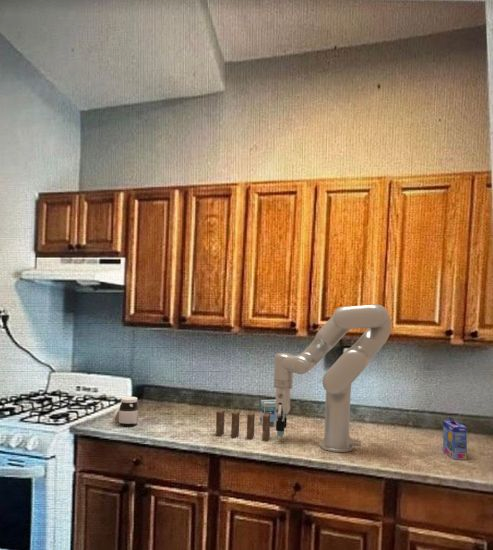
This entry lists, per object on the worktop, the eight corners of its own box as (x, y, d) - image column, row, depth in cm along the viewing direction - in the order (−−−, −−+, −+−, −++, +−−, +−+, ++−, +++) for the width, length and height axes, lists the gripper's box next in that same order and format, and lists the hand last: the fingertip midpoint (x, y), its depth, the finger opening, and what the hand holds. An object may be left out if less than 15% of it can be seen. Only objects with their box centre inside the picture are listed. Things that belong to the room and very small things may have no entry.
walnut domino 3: (254, 436, 214) (254, 412, 214) (251, 439, 209) (252, 414, 209) (249, 436, 214) (250, 411, 215) (246, 439, 209) (247, 414, 210)
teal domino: (284, 433, 211) (285, 408, 211) (282, 436, 206) (283, 411, 207) (279, 432, 212) (280, 408, 212) (277, 436, 207) (278, 410, 207)
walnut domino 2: (238, 435, 215) (239, 410, 216) (235, 438, 211) (236, 413, 211) (234, 434, 216) (234, 410, 216) (231, 437, 211) (231, 413, 211)
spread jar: (134, 428, 221) (135, 400, 221) (108, 427, 221) (109, 399, 221) (140, 421, 233) (141, 395, 233) (115, 420, 233) (116, 394, 233)
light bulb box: (263, 427, 229) (264, 402, 230) (259, 423, 236) (260, 399, 236) (286, 426, 232) (287, 402, 232) (281, 422, 239) (282, 399, 239)
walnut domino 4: (269, 438, 212) (270, 413, 213) (267, 441, 208) (267, 416, 208) (264, 437, 213) (265, 413, 213) (262, 440, 208) (263, 415, 208)
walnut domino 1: (223, 433, 217) (224, 409, 217) (220, 436, 212) (221, 412, 212) (219, 433, 217) (220, 409, 218) (215, 436, 212) (216, 411, 213)
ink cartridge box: (441, 451, 201) (442, 414, 202) (455, 451, 202) (456, 414, 202) (452, 459, 192) (453, 420, 192) (467, 460, 192) (468, 420, 192)
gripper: (289, 388, 200) (287, 435, 200) (295, 381, 217) (293, 425, 216) (270, 386, 202) (268, 433, 202) (277, 379, 219) (275, 423, 218)
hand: (281, 428), depth 209 cm, fingers closed on teal domino, 4 cm apart
